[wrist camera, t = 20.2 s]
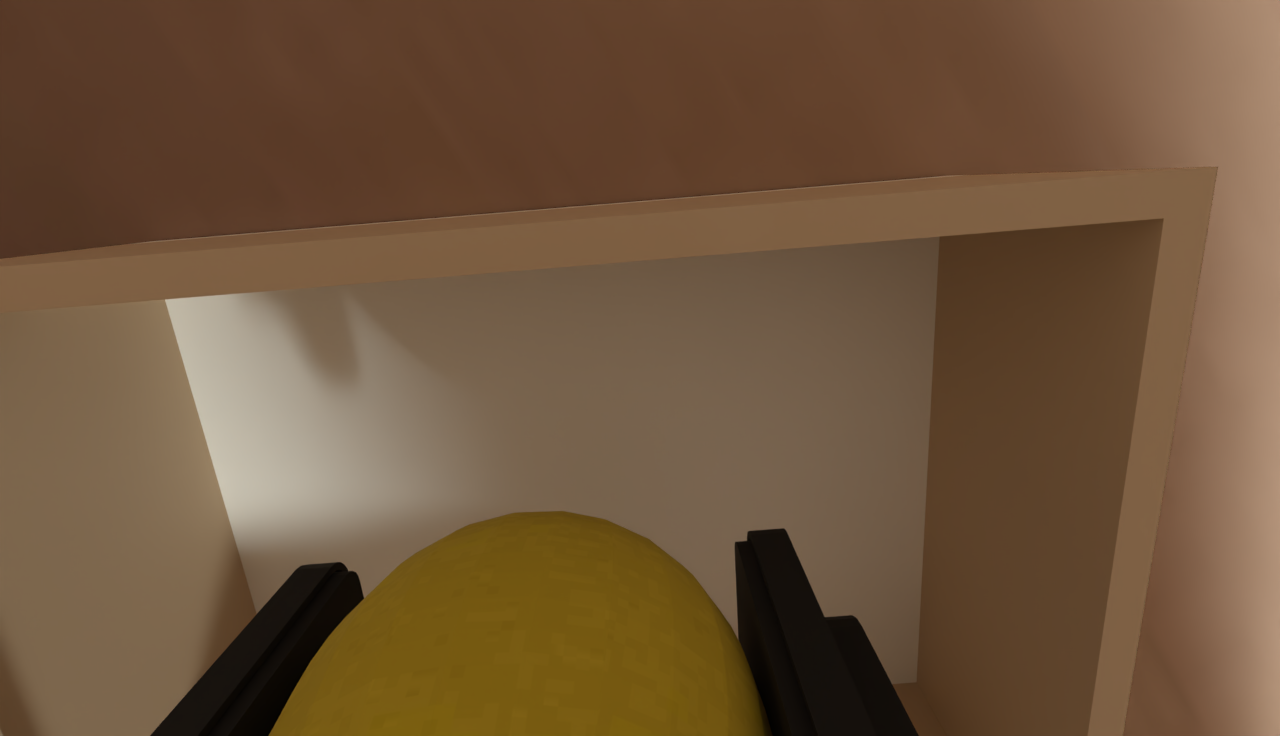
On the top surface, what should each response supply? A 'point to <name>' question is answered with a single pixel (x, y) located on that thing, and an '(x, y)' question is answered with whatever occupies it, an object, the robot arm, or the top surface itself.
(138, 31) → the top surface
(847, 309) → the mailer box
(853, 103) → the top surface
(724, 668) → the lemon
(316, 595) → the robot arm
